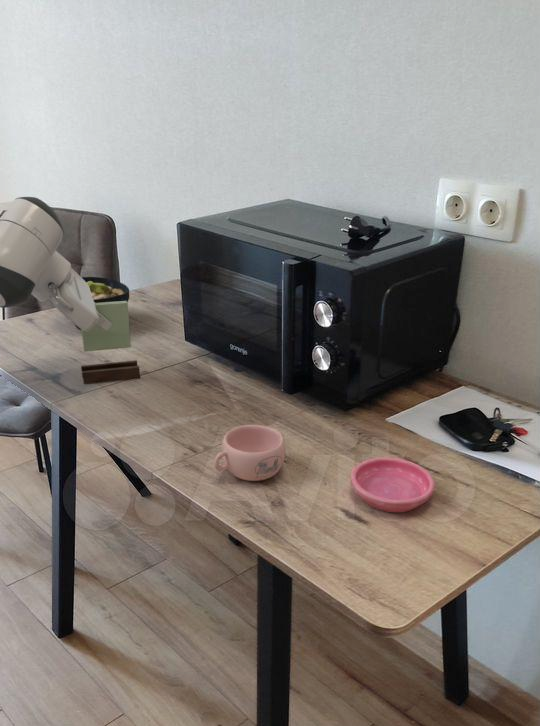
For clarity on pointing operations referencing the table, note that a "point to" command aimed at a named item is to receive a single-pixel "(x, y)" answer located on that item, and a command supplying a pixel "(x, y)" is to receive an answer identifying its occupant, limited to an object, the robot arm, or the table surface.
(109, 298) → the bowl
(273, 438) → the mug
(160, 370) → the table surface
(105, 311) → the green square tile
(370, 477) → the saucer
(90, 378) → the rack
